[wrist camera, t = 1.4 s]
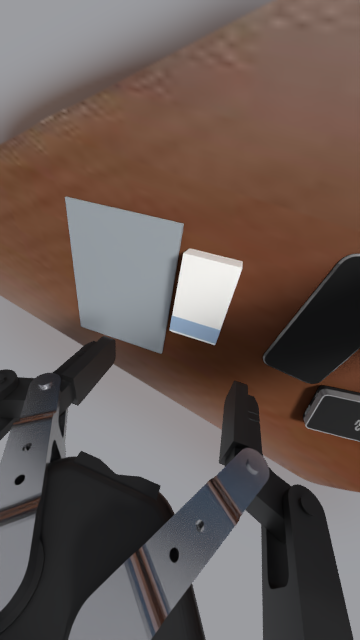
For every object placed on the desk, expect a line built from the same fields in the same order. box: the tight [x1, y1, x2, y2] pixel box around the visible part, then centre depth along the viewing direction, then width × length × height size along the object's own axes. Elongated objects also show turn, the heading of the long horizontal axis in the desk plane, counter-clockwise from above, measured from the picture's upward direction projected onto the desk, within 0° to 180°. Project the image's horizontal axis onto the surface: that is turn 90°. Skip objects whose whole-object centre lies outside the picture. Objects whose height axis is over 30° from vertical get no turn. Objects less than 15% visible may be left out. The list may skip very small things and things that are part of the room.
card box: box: [170, 249, 243, 345], centre depth 22 cm, size 10×6×3 cm, turn 170°
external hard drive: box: [303, 385, 360, 442], centre depth 25 cm, size 7×11×2 cm, turn 88°
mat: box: [65, 197, 184, 354], centre depth 26 cm, size 14×18×1 cm
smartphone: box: [263, 254, 360, 384], centre depth 21 cm, size 8×1×15 cm
